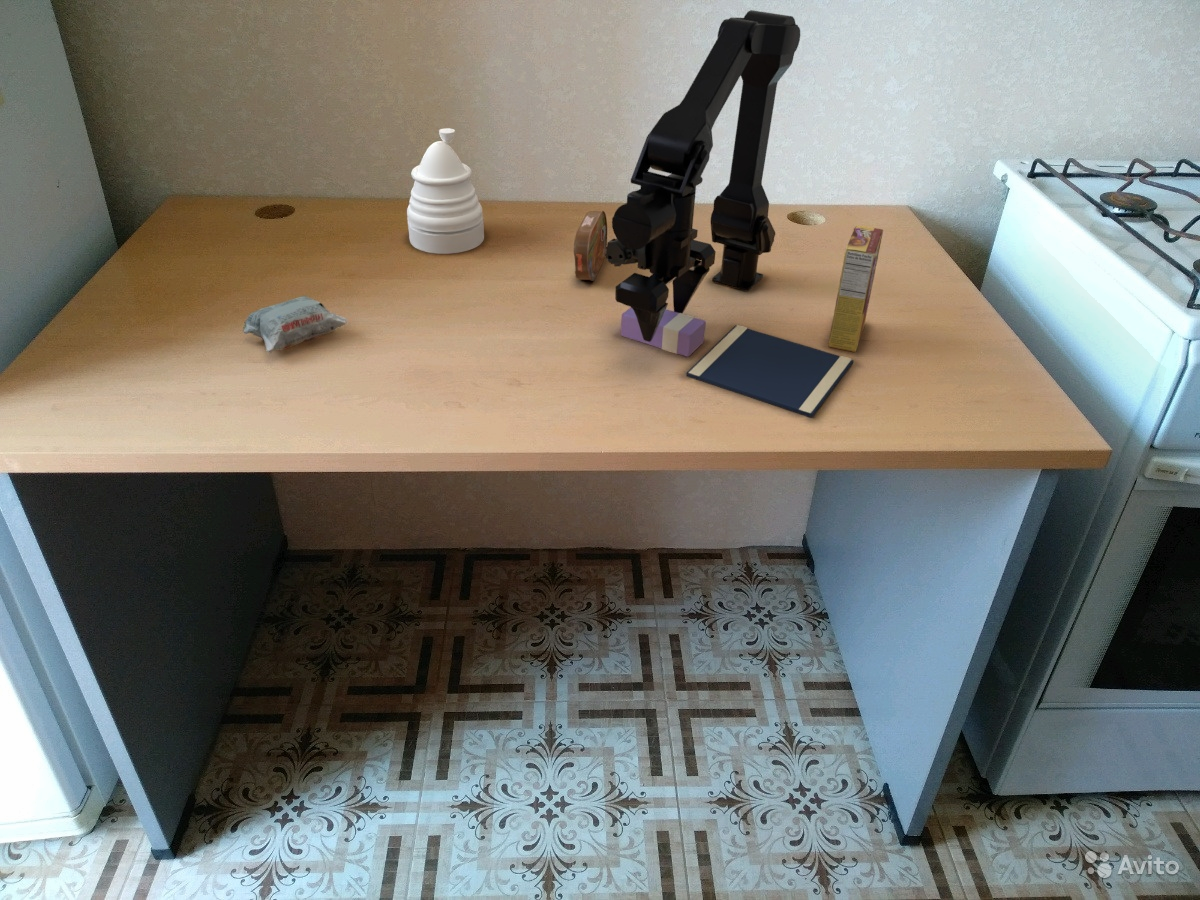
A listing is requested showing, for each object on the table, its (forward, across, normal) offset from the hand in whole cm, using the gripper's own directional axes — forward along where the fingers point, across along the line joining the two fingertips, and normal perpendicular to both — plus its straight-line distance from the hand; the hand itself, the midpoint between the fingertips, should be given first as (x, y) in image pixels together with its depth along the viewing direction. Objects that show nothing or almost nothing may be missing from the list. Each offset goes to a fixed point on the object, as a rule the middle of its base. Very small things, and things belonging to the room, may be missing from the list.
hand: (663, 327), depth 127 cm
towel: (+2, -1, +16) cm, 17 cm away
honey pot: (+2, -10, -48) cm, 49 cm away
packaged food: (+2, +29, -43) cm, 52 cm away
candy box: (+2, -16, +22) cm, 27 cm away
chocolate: (+2, 0, 0) cm, 2 cm away
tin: (+2, -14, -21) cm, 25 cm away
